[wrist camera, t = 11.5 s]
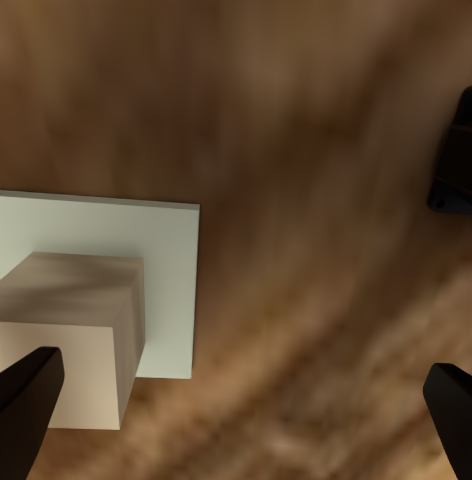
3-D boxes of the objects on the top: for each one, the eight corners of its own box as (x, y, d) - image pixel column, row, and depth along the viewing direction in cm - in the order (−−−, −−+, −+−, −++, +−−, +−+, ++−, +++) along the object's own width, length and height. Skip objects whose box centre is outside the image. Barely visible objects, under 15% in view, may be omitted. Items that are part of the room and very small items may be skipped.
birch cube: (143, 258, 19) (112, 327, 14) (145, 342, 22) (119, 429, 16) (32, 251, 19) (-45, 319, 13) (47, 338, 21) (-14, 425, 16)
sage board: (199, 204, 19) (198, 210, 18) (192, 367, 24) (190, 378, 23) (-27, 187, 18) (-39, 193, 17) (13, 360, 23) (5, 371, 22)
